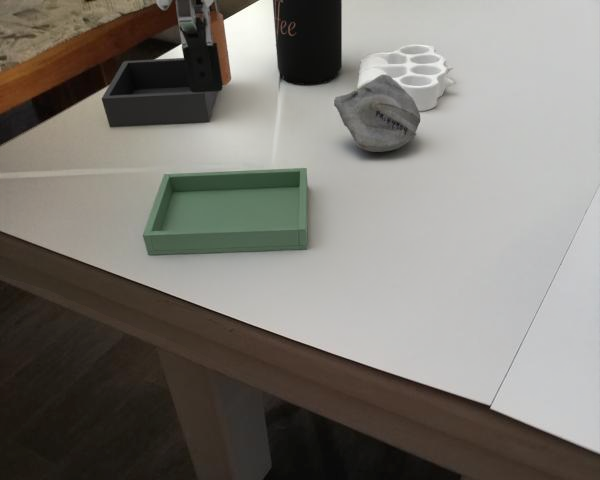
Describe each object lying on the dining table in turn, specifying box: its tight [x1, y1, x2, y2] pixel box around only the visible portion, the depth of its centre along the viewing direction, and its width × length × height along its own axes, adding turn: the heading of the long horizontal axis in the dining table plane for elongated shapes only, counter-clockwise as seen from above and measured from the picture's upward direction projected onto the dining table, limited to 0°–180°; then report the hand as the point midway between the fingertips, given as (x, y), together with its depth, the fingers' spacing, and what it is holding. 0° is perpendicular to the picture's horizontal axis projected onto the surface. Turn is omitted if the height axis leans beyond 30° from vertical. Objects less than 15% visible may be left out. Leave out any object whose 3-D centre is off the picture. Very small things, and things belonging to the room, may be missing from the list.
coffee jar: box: [272, 0, 343, 86], centre depth 92 cm, size 11×11×18 cm
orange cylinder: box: [177, 11, 232, 87], centre depth 57 cm, size 4×4×6 cm
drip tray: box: [142, 167, 309, 256], centre depth 68 cm, size 18×14×2 cm
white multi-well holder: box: [356, 43, 456, 112], centre depth 91 cm, size 3×18×15 cm
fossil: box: [333, 75, 421, 153], centre depth 77 cm, size 11×9×8 cm
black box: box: [101, 57, 219, 128], centre depth 90 cm, size 15×15×5 cm
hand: (209, 78), depth 58 cm, fingers closed on orange cylinder, 4 cm apart
